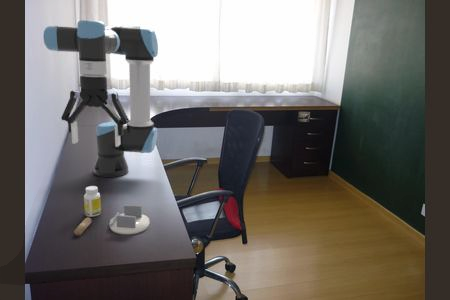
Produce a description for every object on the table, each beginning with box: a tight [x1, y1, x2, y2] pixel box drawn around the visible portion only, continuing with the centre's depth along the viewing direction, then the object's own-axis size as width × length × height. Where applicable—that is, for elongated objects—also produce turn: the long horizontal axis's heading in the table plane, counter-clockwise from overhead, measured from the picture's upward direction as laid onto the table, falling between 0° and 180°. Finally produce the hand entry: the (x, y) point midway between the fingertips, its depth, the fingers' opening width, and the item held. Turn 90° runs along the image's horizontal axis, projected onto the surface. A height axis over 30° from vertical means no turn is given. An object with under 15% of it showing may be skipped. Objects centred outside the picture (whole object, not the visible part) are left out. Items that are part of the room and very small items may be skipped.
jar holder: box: [108, 204, 150, 235], centre depth 124 cm, size 13×13×5 cm
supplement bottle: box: [83, 185, 102, 218], centre depth 130 cm, size 5×5×10 cm
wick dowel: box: [73, 216, 92, 236], centre depth 120 cm, size 8×2×2 cm, turn 177°
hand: (96, 144), depth 116 cm, fingers open, 13 cm apart
